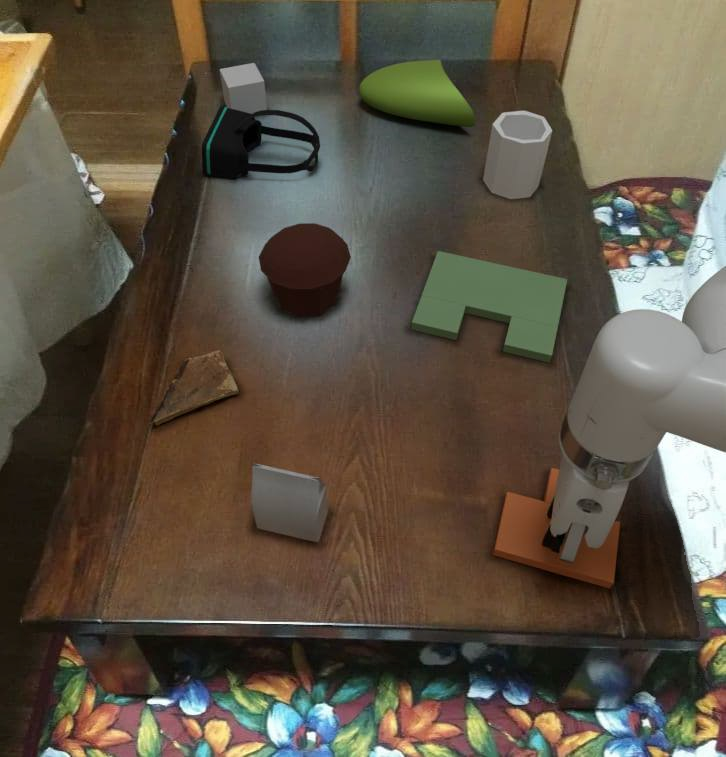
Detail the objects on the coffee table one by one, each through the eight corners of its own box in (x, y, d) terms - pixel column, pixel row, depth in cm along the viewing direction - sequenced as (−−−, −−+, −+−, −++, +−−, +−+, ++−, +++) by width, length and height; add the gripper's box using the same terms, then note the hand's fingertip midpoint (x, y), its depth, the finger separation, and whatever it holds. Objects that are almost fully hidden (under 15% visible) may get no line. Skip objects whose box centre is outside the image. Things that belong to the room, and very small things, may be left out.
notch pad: (565, 286, 100) (567, 279, 99) (549, 363, 92) (552, 355, 91) (436, 258, 103) (437, 250, 102) (410, 329, 95) (411, 322, 94)
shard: (152, 429, 85) (149, 420, 84) (135, 382, 89) (131, 373, 88) (240, 397, 88) (239, 388, 87) (219, 352, 92) (217, 343, 91)
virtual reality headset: (222, 133, 120) (220, 78, 112) (323, 155, 120) (329, 101, 112) (202, 175, 113) (199, 119, 105) (309, 198, 113) (314, 144, 105)
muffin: (281, 335, 94) (274, 280, 86) (251, 279, 100) (242, 223, 92) (364, 307, 97) (365, 251, 89) (331, 254, 103) (329, 197, 95)
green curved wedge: (482, 48, 120) (361, 45, 123) (476, 102, 115) (350, 98, 118) (479, 86, 127) (366, 83, 130) (474, 139, 122) (355, 135, 125)
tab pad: (620, 493, 81) (641, 457, 75) (609, 588, 74) (631, 558, 68) (512, 464, 83) (524, 427, 77) (492, 555, 76) (504, 522, 70)
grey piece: (318, 542, 77) (314, 496, 69) (257, 528, 78) (246, 481, 70) (327, 512, 79) (325, 464, 71) (268, 498, 80) (258, 449, 72)
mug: (538, 202, 111) (552, 146, 103) (481, 195, 112) (490, 140, 104) (539, 155, 118) (552, 99, 110) (486, 149, 119) (495, 93, 111)
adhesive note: (233, 121, 123) (228, 87, 118) (224, 102, 126) (219, 69, 121) (267, 113, 124) (264, 80, 119) (258, 95, 128) (254, 62, 123)
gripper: (647, 533, 55) (586, 618, 70) (660, 372, 65) (604, 477, 80) (548, 506, 57) (509, 595, 71) (575, 353, 66) (535, 459, 81)
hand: (559, 532), depth 75 cm, fingers closed on tab pad, 2 cm apart
